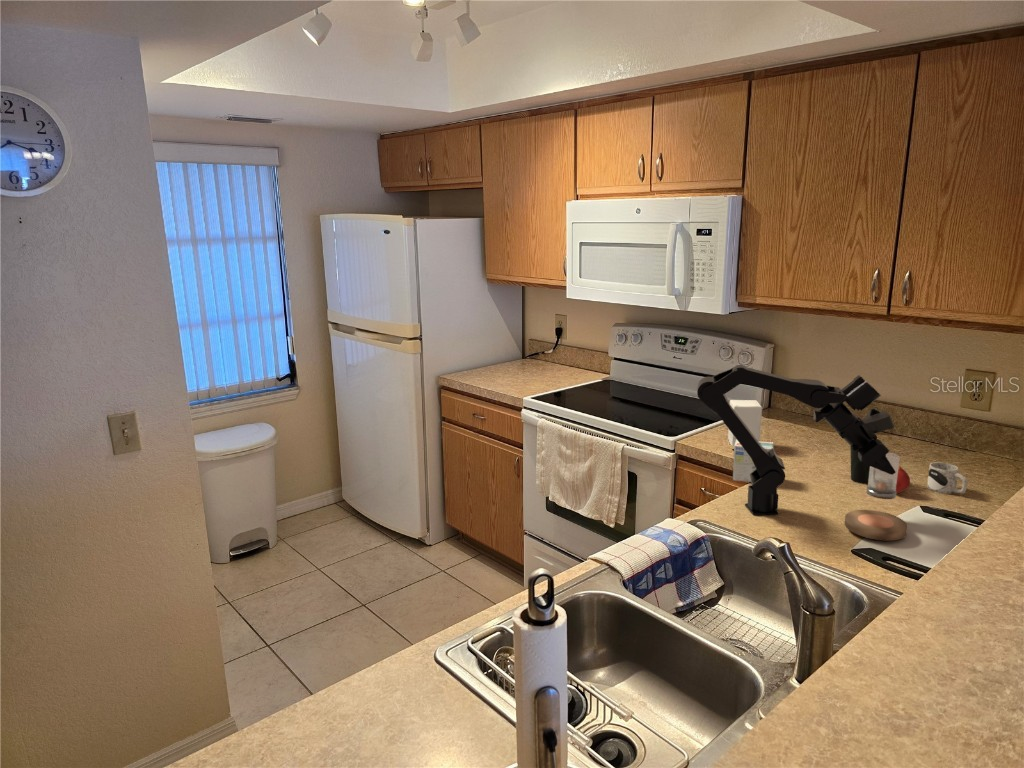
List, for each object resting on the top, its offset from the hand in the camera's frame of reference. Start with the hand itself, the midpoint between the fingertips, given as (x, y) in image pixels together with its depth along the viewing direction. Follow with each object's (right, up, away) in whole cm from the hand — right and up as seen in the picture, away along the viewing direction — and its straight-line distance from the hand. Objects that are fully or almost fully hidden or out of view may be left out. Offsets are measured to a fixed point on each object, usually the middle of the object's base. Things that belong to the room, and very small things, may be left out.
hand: (890, 468), depth 162 cm
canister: (-1, -6, +2) cm, 7 cm away
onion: (+12, -9, +19) cm, 25 cm away
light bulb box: (-22, -7, +32) cm, 40 cm away
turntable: (-5, -15, -3) cm, 16 cm away
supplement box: (-15, 0, +61) cm, 62 cm away
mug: (+26, -9, +19) cm, 34 cm away
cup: (+8, -7, +29) cm, 31 cm away
